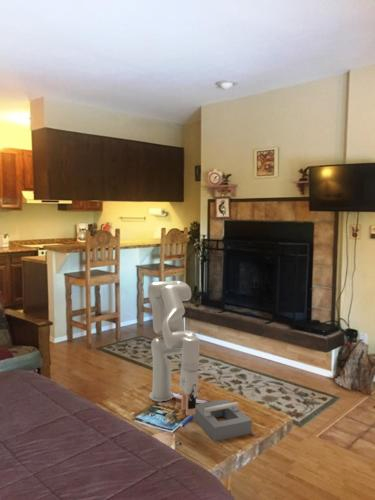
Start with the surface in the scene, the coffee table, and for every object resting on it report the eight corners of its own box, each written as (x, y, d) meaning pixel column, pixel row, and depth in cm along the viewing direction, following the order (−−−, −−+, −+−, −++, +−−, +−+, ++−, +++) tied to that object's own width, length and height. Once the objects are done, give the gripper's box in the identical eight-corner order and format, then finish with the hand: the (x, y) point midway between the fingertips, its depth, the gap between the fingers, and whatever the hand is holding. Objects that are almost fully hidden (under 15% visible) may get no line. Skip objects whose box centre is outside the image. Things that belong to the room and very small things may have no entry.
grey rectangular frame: (192, 417, 198) (193, 397, 197) (226, 411, 206) (227, 392, 205) (214, 441, 178) (214, 419, 177) (251, 433, 185) (252, 412, 185)
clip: (181, 408, 187) (182, 388, 186) (189, 407, 189) (190, 386, 188) (186, 415, 182) (187, 394, 181) (195, 413, 183) (196, 393, 182)
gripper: (174, 358, 189) (173, 397, 191) (190, 374, 173) (188, 415, 176) (189, 356, 192) (188, 394, 194) (206, 371, 176) (204, 412, 179)
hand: (188, 404), depth 185 cm, fingers closed on clip, 6 cm apart
